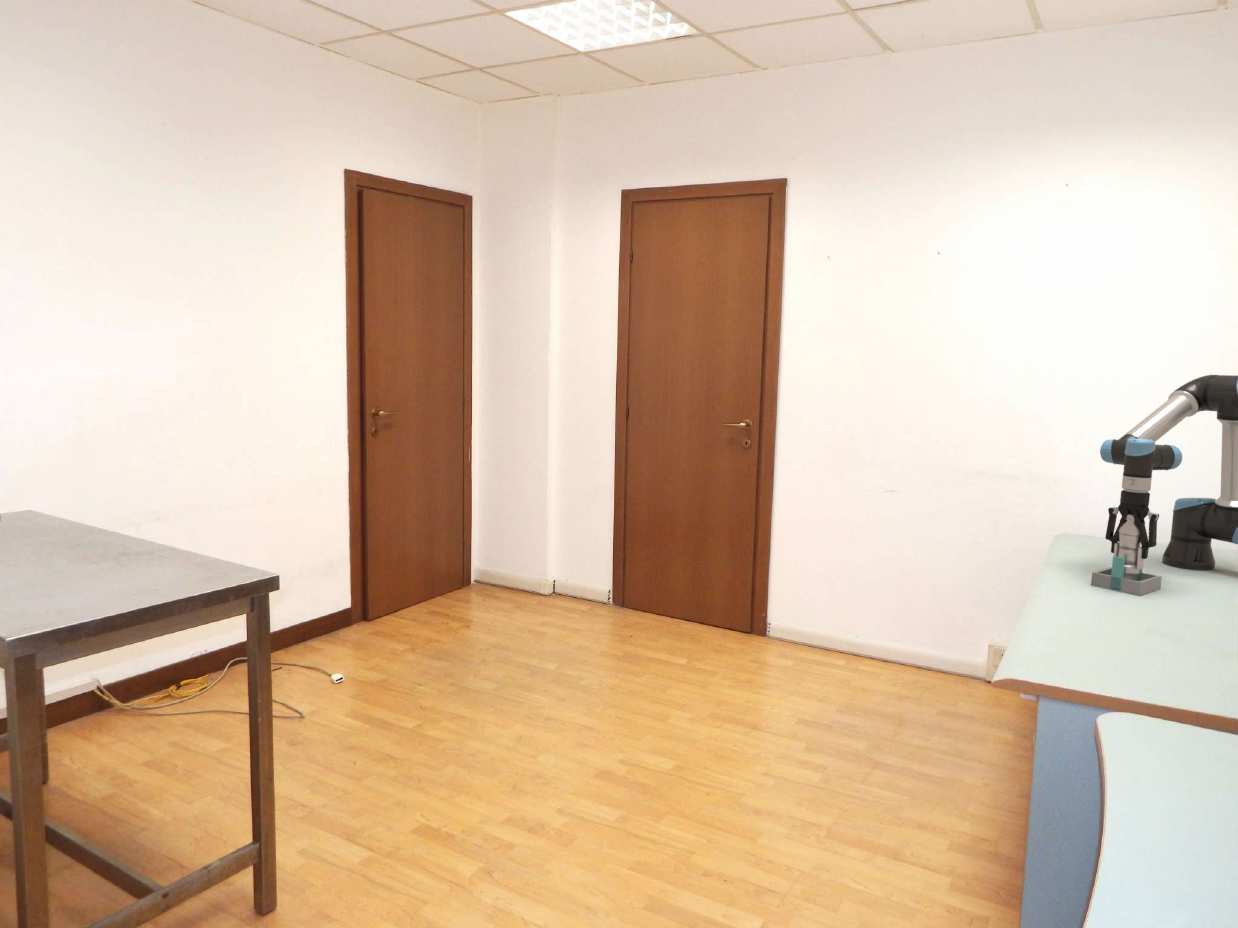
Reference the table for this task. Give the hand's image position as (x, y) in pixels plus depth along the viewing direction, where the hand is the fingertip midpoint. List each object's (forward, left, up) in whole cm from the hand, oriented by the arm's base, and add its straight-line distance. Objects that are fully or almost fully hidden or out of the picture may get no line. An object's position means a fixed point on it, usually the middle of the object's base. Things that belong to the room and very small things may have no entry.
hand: (1127, 566), depth 273 cm
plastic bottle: (0, 0, -4) cm, 4 cm away
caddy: (0, 0, -6) cm, 6 cm away
